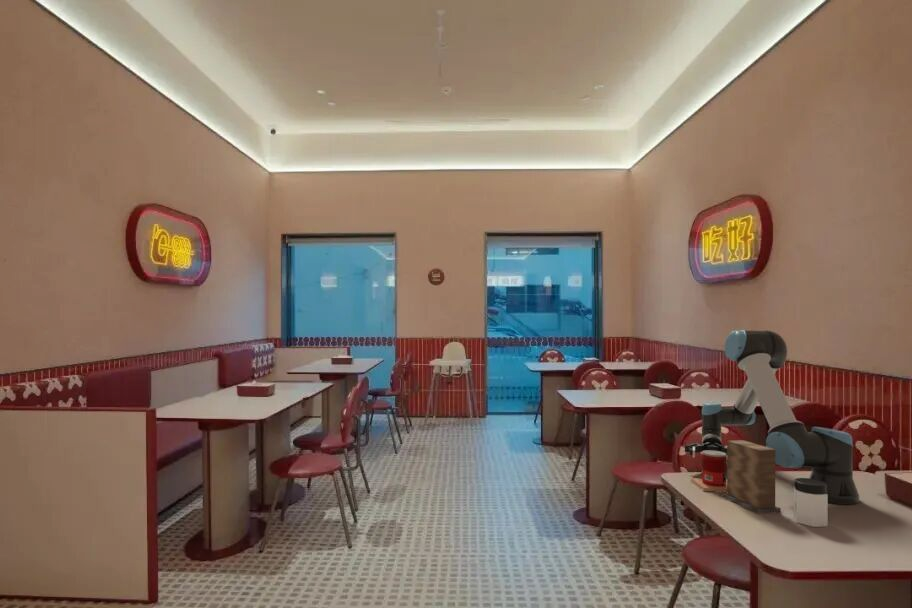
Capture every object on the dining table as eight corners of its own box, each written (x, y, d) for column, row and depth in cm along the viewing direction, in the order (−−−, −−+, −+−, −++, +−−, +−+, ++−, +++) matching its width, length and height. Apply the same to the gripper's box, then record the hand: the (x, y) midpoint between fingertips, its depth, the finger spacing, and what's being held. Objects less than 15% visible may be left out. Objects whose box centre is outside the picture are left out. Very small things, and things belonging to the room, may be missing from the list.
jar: (791, 515, 172) (791, 476, 172) (822, 519, 169) (822, 479, 169) (797, 525, 163) (797, 483, 164) (830, 529, 160) (830, 487, 161)
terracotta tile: (724, 482, 206) (724, 479, 206) (738, 492, 194) (738, 489, 194) (691, 481, 206) (691, 478, 206) (703, 491, 194) (703, 487, 194)
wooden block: (722, 497, 188) (722, 440, 189) (742, 495, 190) (742, 439, 191) (759, 513, 173) (759, 451, 173) (780, 511, 175) (780, 450, 175)
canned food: (729, 487, 196) (729, 455, 196) (704, 485, 197) (704, 454, 197) (723, 481, 203) (723, 450, 203) (699, 479, 205) (699, 449, 205)
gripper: (746, 457, 223) (751, 470, 204) (679, 450, 233) (677, 462, 213) (746, 438, 223) (751, 449, 204) (679, 432, 233) (677, 442, 214)
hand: (713, 455), depth 208 cm, fingers open, 13 cm apart
